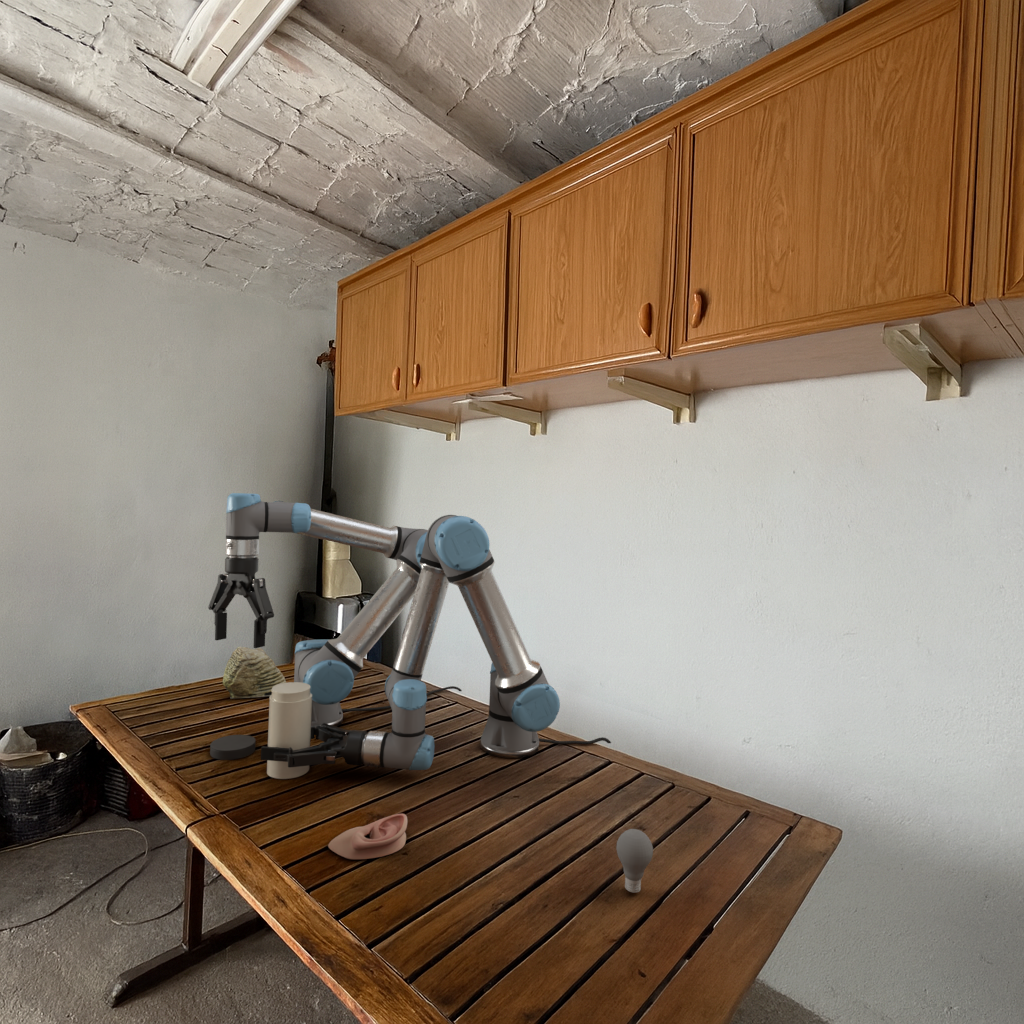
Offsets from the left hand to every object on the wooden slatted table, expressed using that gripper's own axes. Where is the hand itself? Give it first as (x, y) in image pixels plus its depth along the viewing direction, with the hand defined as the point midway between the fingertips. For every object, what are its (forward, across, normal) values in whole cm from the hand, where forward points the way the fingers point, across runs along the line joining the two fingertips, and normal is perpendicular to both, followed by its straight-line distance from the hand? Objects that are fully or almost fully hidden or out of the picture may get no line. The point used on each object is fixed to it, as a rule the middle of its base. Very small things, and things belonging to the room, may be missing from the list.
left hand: (239, 643), depth 155 cm
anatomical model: (+27, +54, -16) cm, 63 cm away
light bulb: (+27, +101, -4) cm, 104 cm away
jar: (+27, +18, -1) cm, 32 cm away
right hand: (+20, +16, -2) cm, 26 cm away
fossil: (+27, -31, +32) cm, 52 cm away
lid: (+25, 0, -1) cm, 25 cm away
